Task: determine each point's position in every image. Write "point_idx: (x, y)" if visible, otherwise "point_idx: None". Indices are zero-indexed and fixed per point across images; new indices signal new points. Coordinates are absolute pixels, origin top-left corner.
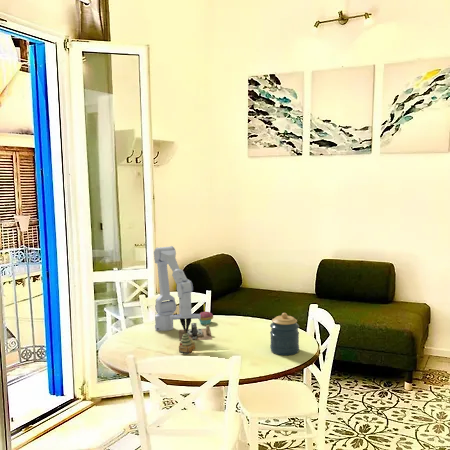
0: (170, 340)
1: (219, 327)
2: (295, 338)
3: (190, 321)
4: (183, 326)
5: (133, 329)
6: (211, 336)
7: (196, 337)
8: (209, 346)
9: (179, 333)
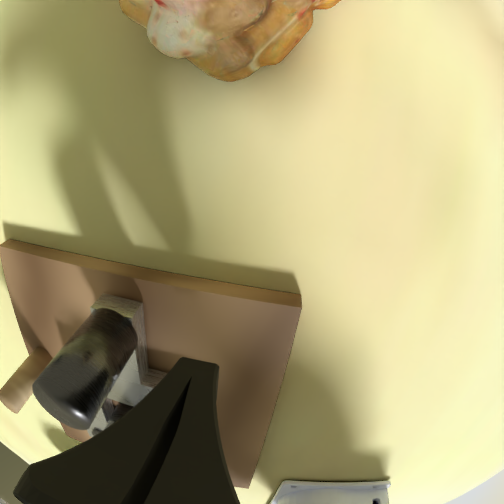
0: (362, 378)
1: (41, 428)
2: None
3: (22, 479)
4: (207, 459)
5: (445, 498)
6: (16, 313)
7: (97, 302)
8: (24, 112)
9: (256, 453)
